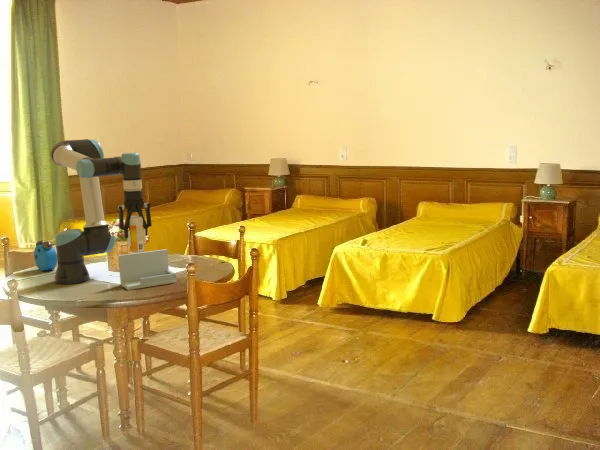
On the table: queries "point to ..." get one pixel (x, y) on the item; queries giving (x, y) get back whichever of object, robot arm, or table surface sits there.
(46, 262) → the alarm clock
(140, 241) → the beer can
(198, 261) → the table surface
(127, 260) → the stand
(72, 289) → the table surface
